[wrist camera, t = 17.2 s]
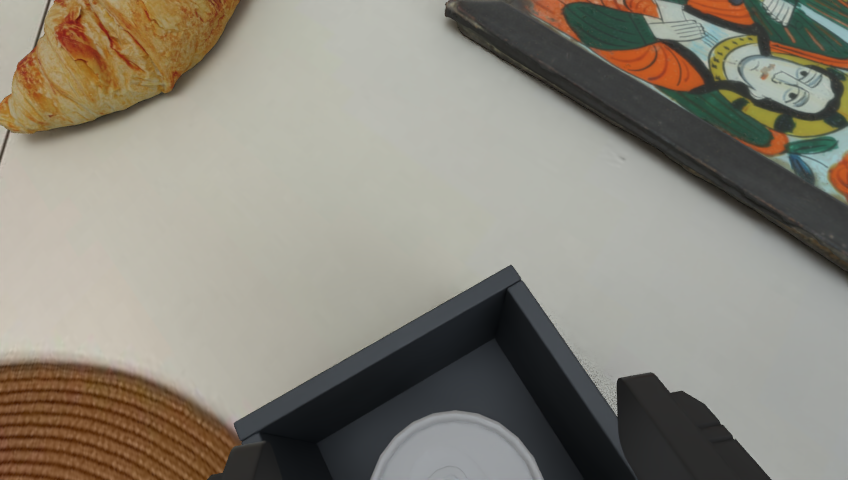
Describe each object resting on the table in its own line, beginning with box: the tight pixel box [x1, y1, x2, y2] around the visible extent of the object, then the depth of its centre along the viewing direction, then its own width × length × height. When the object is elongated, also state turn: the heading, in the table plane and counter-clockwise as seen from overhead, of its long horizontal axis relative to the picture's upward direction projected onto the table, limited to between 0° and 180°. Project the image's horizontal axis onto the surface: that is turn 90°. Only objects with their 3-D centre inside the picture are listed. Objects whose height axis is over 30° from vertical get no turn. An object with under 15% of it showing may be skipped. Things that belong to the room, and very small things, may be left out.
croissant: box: [0, 0, 240, 134], centre depth 35 cm, size 21×10×8 cm, turn 139°
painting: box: [445, 0, 848, 272], centre depth 33 cm, size 28×35×2 cm
